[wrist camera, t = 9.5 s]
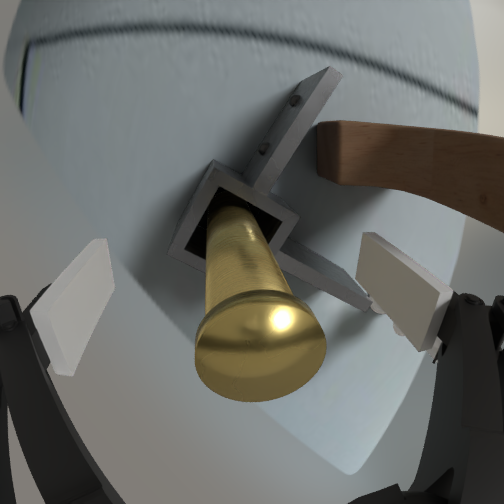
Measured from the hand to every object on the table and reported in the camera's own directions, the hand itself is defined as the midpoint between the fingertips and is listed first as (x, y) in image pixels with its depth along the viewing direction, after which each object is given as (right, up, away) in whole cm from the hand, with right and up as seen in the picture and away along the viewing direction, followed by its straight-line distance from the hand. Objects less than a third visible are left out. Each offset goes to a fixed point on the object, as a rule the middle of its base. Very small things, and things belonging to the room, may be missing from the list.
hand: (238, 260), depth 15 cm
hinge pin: (-1, +4, +9) cm, 10 cm away
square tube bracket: (+5, +5, +9) cm, 12 cm away
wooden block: (+10, +9, +9) cm, 16 cm away
